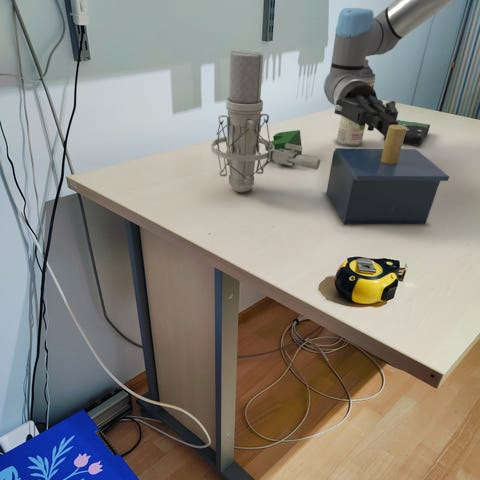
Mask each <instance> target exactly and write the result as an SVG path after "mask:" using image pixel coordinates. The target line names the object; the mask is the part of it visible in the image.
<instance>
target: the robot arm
mask: <svg viewBox="0 0 480 480" xmlns="http://www.w3.org/2000/svg"><path fill="white" fill-rule="evenodd" d="M452 2H455V0H394V1H392V2H391V3H390V4H389V5H388V6H387V7H386V8H385V9H383V10H382V11H380V13H378V14H377V15H376V16H374V14H375V13H374V11H373V10H372V9H371V8H370V9H369V8H362V7H361V8H360V7H344V8H342V9H341V10H340V11H339V15H338V19H337V22H336V23H337V24H336V27H335V35H334V43H333V48H332V56H331V62H330V63H331V64H330V69H329V72H328V74H327V75H326V77H325V79H324V80H323V81H324V82H323V92H324V96H325V97H326V99H327V101H328V102H329V103H330V104H331V105H334V114H335V115H339V116H341V115H342V116H343V117H345V118H347V119H349V120H351V121H353V122H354V123H356V124H358V125H360V126H363V125H364V124H365V123H366V124H365V125H367V131H369V132H373V131H374V129H376V130H377V131H378V132H379V133H380V134H381V135H382V136H383V137H384V136H385V137H386V136H387V132H388V128H389V125H393V124H396V125H398V123H399V122H397V121H396V120H398V115H399V110H398V109H397V107H396V103H397V102H396V101H394V100H391V101H387V102H385V103H384V101H383V100H381V99H378V96H377V93H376V90H375V88H374V87H372V86H370V85H369V84H367V83H366V82H365V81H363V80H362V79H361V78H362V73H363V68H364V63H365V59H367V57H370V56H375V55H376V56H380V55H381V56H382V55H384V54H386V53H388V52H390V51H392V50H394V48H395V47H396V46H397V45H398V43H399V42H400V40H402V39H403V38H404V37H406V36H407V35H408V34H410V33H411V32H412V31H414V30H415V29H417V28H418V27H420V26H421V25H422V24H424V23H425V22H426V21H428V20H429V19H430V18H432V17H434V16H435V15H436V14H437V13H439V12H440V11H442V10H443V9H445V8H446V7H447V6H448V5H450V4H451V3H452Z"/></svg>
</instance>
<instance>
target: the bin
mask: <svg viewBox="0 0 480 480" xmlns="http://www.w3.org/2000/svg"><path fill="white" fill-rule="evenodd" d="M328 175H329V176H328V181H327V187H326V192H325V195H326V196H327V198H328V200H329V202H330V203H331V205H332V207H333V208H334V211H335V212H336V213H337V216H338V217H339V219H340V220H341V222H342V224H343V225H344V226H345V225H347V226H350V225H351V226H353V225H356V226H357V225H359V226H361V225H362V226H363V225H364V226H367V225H372V226H374V225H376V226H377V225H378V226H379V225H380V226H381V225H393V226H395V225H396V226H397V225H426V224H427V221H428V219H429V215H430V212H431V210H432V207H433V204H434V201H435V198H436V196H437V192H438V189H439V186H440V183H441V181H371V180H355V178H354V177H353V176H352V174H351V173H350V172H349V170H348V169H347V168H346V166H345V165H344V164H343V162H342V161H341V160H340V158H339V157H338V156H337V154H336V153H335V150H333V152H332V159H331V164H330V169H329V174H328Z"/></svg>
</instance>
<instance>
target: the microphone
mask: <svg viewBox="0 0 480 480" xmlns="http://www.w3.org/2000/svg"><path fill="white" fill-rule="evenodd" d="M263 61H264V54H263V53H262V52H259V51H253V50H234V49H233V50H231V51H230V53H229V90H228V91H229V93H228V94H229V95H228V96H229V97H228V98H226V101H225V102H226V103H225V105H226V106H225V109H226V111H227V115H226V114H221V115H218V124H219V125H218V130H217V133H216V134H215V136H217V138H215V139H214V140H212V142H211V148H210V149H211V153H212V154H214V156H217V159H218V163H219V168H220V169H219V176H220V177H227V176H228V184H229V186H230V187H231V188H232V190H234V191H235V192H237V193H246V192H248V191H249V190H251V188H252V187H253V186H254V185H255V174H257V175H263V174H264V168H265V167H266V166H267V165H268V164H269V163H270V162H271V161H270V160H274V161H273V162H274V163H277V164H281V165H282V164H285V165H290V166H289V167H292V166H299V167H302V168H307V169H312V170H315V171H316V170H317V171H318V169H319V167H320V165H321V159H320V158H317V157H312V156H307V155H302V154H301V155H297V152H295V150H297V151H302V152H303V146H298V145H294V144H288V143H286V144H285V148H288V149H292V151H289V150H284V149H279V150H275V148H274V145H273V144H272V143H271V142H270V141H271V140H270V133H269V125H268V123H269V119H270V115H269V114H268V113H262V112H263V109H264V107H263V106H264V101H263V99H261V94H262V93H261V91H262V78H263V65H264V64H263V63H264V62H263ZM262 117H266V118H263V122H262V124H261V121H262ZM221 118H226V124H225V125H224V119H222V120H221ZM264 124H266V129H267V130H266V131H267V137H268V139H264V138H263V136H261V134H260V133H261V130H262V127H263V126H264ZM223 125H224V127H223ZM220 128H221V129H220ZM225 128H226V134H225ZM221 132H222V134H223V136H221V137H220V135H221V134H220V133H221ZM222 143H225V145H226V150H225V152H223V151H221V150H220V144H222ZM260 144H262V145H264V146H265V145H267V146H268V151H267V152H266V153H262V154H261V152H260V149H261V148H260V146H261V145H260ZM215 146H216V148H215ZM269 147H270V148H271V149H270V148H269ZM220 158H222V159H223V165H224V167H223V168H222V165H221V159H220ZM265 159H266V162H265V163H263V164H261V161H262V160H265ZM256 161H257V164H256ZM227 166H228V167H229V168H228V170H227ZM255 166H256V170H255ZM224 171H225V173H224ZM228 171H229V175H228ZM222 173H224V174H222Z"/></svg>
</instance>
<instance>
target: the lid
mask: <svg viewBox="0 0 480 480" xmlns="http://www.w3.org/2000/svg"><path fill="white" fill-rule="evenodd" d="M406 129H407V127H405V126H402V125H396V124H393V125H389V128H388V132H387V136H386V140H385V141H384V145H383V148H359V147H358V148H357V147H356V148H355V147H348V148H346V147H335V149H334V151H335V153H336V154H337V156H338V157H339V158H340V160H341V161H342V162H343V164H344V165H345V166H346V168H347V169H348V170H349V172H350V173H351V174H352V176H353V177H354V178H355V180H371V181H440V182H448V181H449V179H450V175H448V174H447V173H446V172H445V171H443V170H442V169H441V168H439V167H438V165H436V164H435V163H433V162H432V161H431V160H430V159H429V158H428V157H426V156H425V155H424V154H423V153H421V152H420V151H419V150H418V149H416V148H402V147H403V140H404V137H405V133H406Z"/></svg>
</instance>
